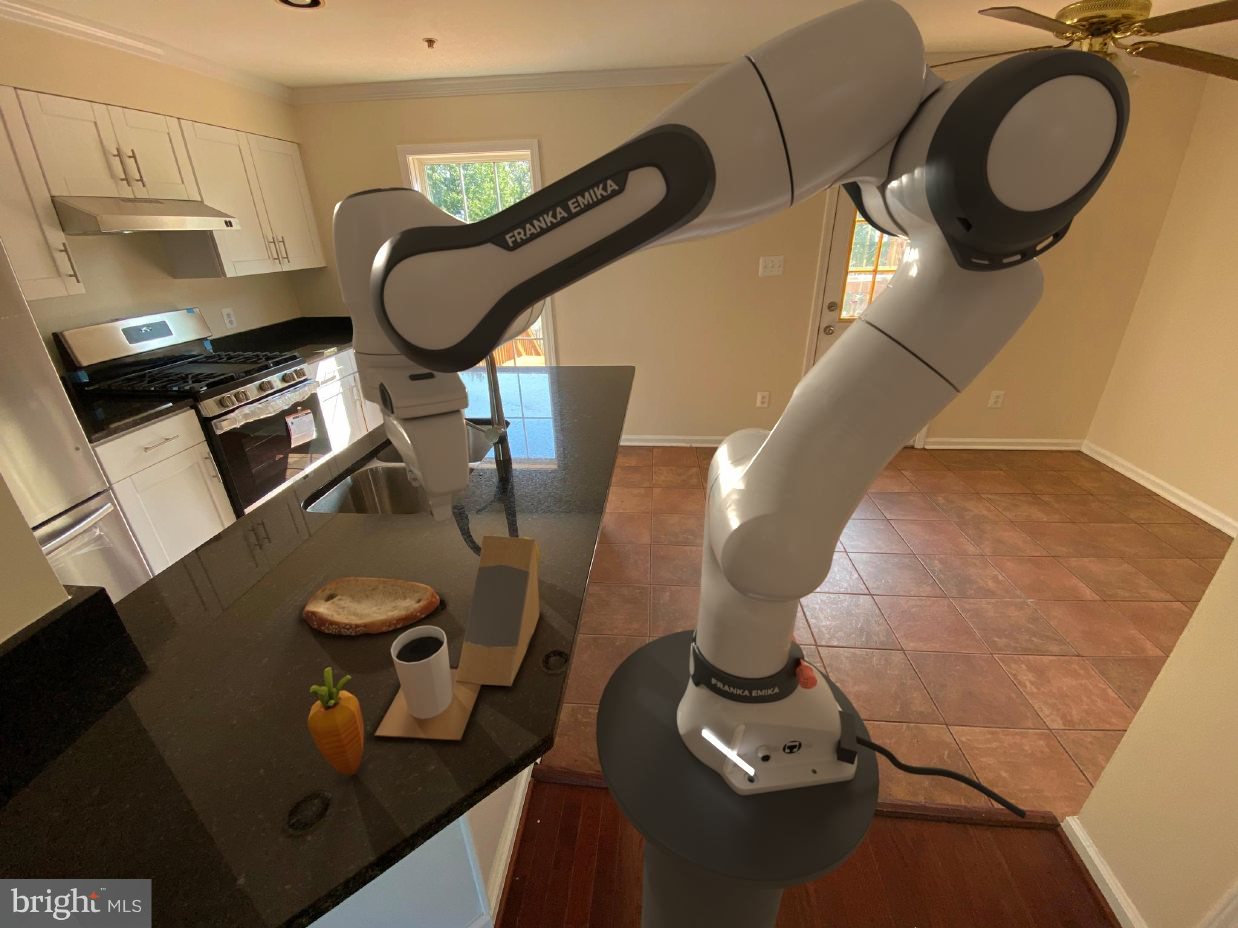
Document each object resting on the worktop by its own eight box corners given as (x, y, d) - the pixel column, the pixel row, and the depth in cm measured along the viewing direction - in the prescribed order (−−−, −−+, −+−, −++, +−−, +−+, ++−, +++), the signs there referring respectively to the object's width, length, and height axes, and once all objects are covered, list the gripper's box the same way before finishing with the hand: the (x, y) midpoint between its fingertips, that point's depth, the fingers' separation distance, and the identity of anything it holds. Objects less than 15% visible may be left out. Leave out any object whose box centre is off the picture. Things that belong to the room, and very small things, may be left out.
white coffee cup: (396, 698, 68) (382, 641, 64) (443, 673, 72) (433, 618, 68) (415, 731, 63) (402, 672, 59) (464, 702, 67) (455, 645, 63)
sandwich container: (452, 681, 70) (438, 594, 64) (491, 610, 84) (482, 533, 78) (511, 687, 69) (502, 600, 64) (540, 614, 83) (535, 537, 78)
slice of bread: (447, 605, 85) (445, 587, 84) (337, 665, 73) (331, 645, 72) (398, 563, 96) (395, 547, 95) (295, 609, 84) (289, 591, 83)
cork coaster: (486, 671, 72) (486, 670, 72) (460, 740, 62) (460, 739, 62) (412, 668, 73) (412, 667, 73) (374, 735, 63) (374, 734, 63)
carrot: (345, 751, 61) (316, 658, 55) (384, 755, 60) (359, 662, 54) (319, 792, 56) (283, 695, 50) (360, 796, 56) (330, 700, 50)
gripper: (356, 360, 55) (380, 472, 61) (397, 406, 40) (423, 551, 46) (415, 354, 59) (432, 461, 64) (474, 394, 43) (490, 531, 49)
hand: (429, 499), depth 55 cm, fingers open, 8 cm apart
